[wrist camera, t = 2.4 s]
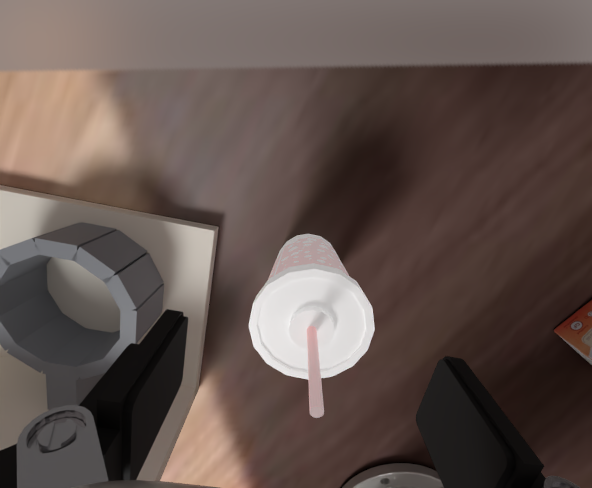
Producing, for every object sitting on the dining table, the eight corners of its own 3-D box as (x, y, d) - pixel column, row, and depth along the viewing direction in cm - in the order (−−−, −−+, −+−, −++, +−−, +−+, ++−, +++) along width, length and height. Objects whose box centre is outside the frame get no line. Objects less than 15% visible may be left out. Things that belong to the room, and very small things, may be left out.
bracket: (218, 226, 23) (135, 305, 11) (198, 389, 27) (123, 565, 16) (-4, 184, 22) (-333, 222, 11) (12, 358, 26) (-209, 518, 15)
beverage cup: (305, 313, 25) (311, 505, 11) (250, 260, 24) (185, 407, 10) (364, 264, 23) (448, 416, 10) (309, 206, 22) (324, 292, 9)
